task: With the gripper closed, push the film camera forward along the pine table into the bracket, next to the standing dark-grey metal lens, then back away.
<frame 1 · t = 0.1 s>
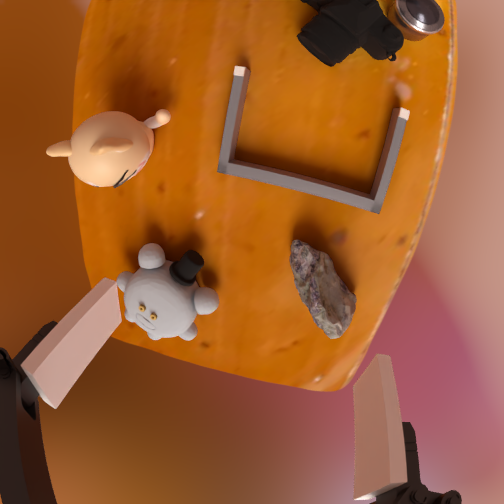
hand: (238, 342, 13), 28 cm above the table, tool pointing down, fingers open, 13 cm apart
kitten: (138, 141, 38), on the table
film camera: (335, 33, 26), on the table
lens: (407, 22, 22), on the table
mineral rock: (324, 271, 42), on the table
bracket: (312, 135, 33), on the table
figurine: (174, 283, 49), on the table
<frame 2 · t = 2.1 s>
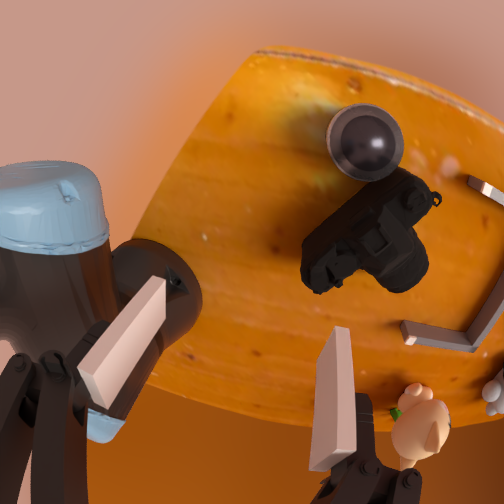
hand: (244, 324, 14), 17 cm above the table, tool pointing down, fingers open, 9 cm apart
kitten: (412, 392, 39), on the table
film camera: (371, 229, 28), on the table
lens: (355, 138, 24), on the table
bracket: (474, 271, 27), on the table
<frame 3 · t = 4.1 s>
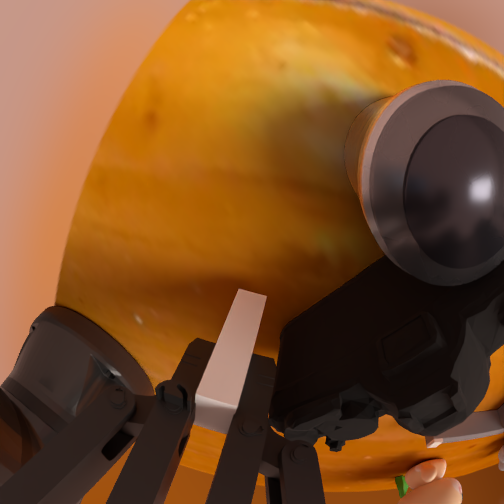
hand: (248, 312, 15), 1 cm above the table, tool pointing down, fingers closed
kitten: (423, 463, 26), on the table
film camera: (404, 309, 15), on the table, touching gripper
lens: (404, 159, 11), on the table
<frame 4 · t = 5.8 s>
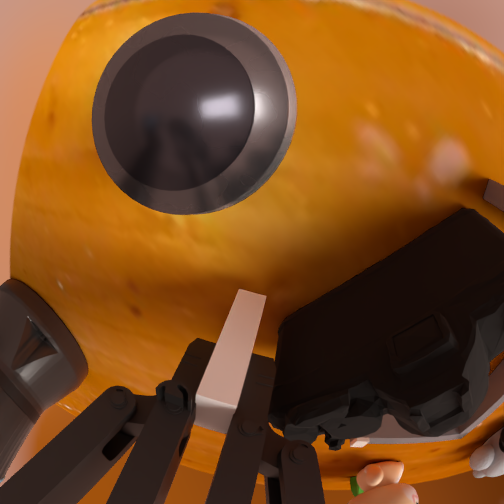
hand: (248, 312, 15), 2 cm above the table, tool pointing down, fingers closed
kitten: (378, 464, 27), on the table
film camera: (403, 311, 15), on the table, touching gripper
lens: (229, 112, 12), on the table
bracket: (479, 343, 15), on the table
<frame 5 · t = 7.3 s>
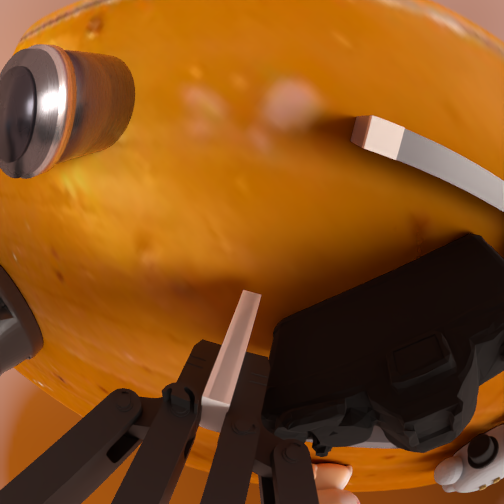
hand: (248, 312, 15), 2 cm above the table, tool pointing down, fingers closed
kitten: (325, 465, 27), on the table
film camera: (398, 326, 15), on the table, touching bracket, gripper
lens: (95, 103, 12), on the table
bracket: (400, 332, 15), on the table
figurine: (484, 439, 21), on the table
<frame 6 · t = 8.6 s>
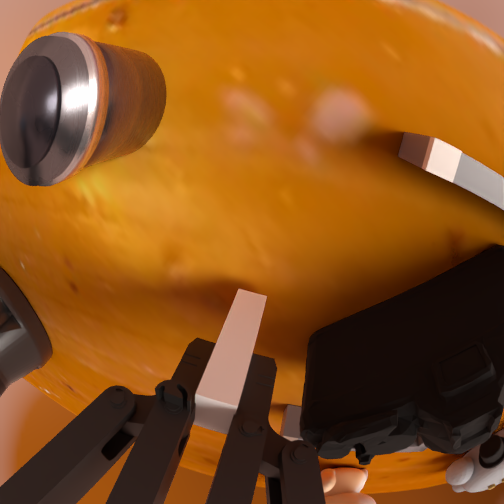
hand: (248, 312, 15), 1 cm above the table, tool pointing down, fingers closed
kitten: (341, 469, 26), on the table
film camera: (426, 333, 15), on the table
lens: (118, 102, 12), on the table
bracket: (429, 342, 14), on the table
figurine: (493, 439, 20), on the table
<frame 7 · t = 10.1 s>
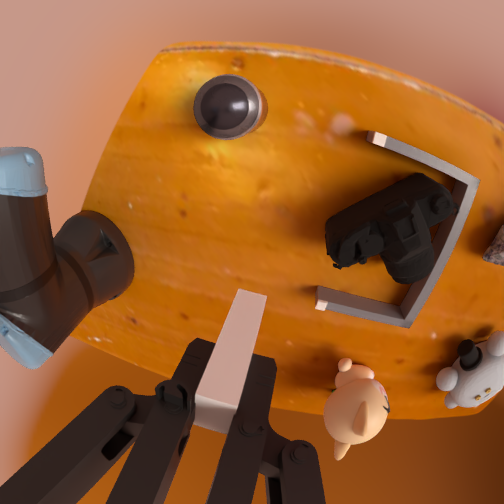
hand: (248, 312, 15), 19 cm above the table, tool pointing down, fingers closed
kitten: (352, 372, 42), on the table
film camera: (388, 224, 30), on the table
lens: (240, 108, 27), on the table
bracket: (394, 235, 30), on the table
figurine: (472, 358, 37), on the table
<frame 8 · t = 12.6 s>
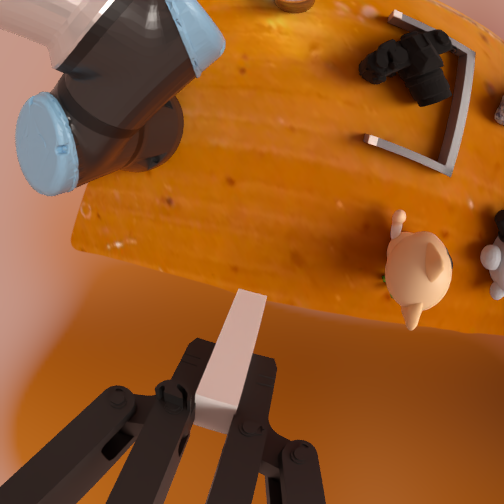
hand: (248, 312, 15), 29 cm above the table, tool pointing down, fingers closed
kitten: (402, 248, 41), on the table
film camera: (408, 73, 29), on the table
bracket: (421, 92, 29), on the table
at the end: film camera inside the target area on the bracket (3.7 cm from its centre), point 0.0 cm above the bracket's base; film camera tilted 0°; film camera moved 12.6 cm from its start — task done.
